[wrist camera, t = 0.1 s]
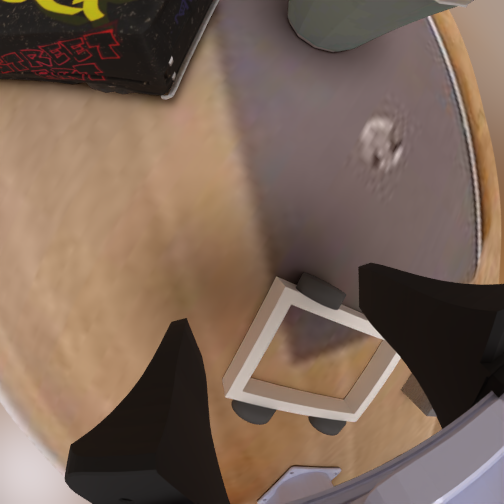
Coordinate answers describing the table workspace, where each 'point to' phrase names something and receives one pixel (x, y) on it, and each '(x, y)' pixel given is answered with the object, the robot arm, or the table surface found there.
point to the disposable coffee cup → (357, 19)
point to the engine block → (417, 396)
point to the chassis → (291, 400)
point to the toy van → (102, 42)
